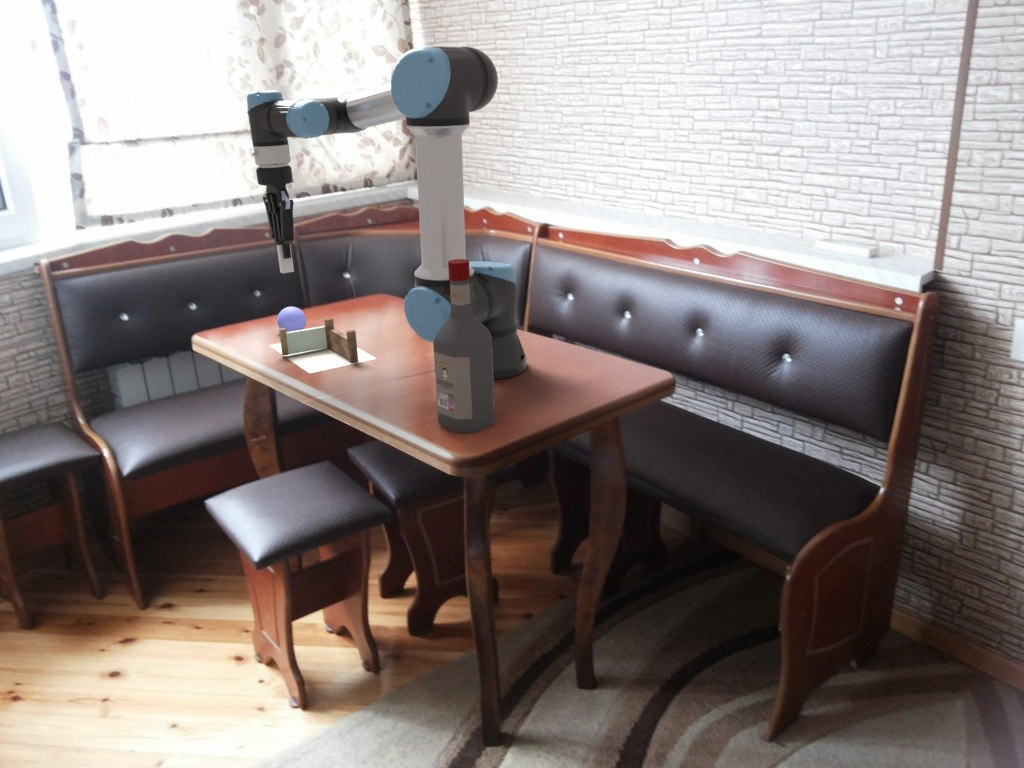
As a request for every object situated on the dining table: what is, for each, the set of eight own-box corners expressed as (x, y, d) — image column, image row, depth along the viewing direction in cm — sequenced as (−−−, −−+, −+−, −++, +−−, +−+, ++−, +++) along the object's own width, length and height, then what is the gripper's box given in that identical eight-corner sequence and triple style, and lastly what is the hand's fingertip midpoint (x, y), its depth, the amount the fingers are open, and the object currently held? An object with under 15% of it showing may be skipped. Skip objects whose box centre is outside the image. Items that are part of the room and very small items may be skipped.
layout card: (377, 360, 195) (377, 358, 195) (309, 375, 187) (309, 373, 187) (331, 334, 216) (331, 332, 216) (268, 346, 208) (268, 344, 207)
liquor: (465, 437, 153) (456, 269, 143) (431, 424, 159) (420, 262, 149) (502, 422, 159) (496, 260, 149) (468, 410, 165) (460, 253, 155)
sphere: (311, 330, 220) (308, 303, 218) (302, 338, 214) (299, 310, 211) (284, 330, 221) (281, 303, 218) (274, 338, 214) (271, 310, 212)
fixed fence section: (359, 361, 194) (356, 331, 191) (351, 363, 192) (348, 333, 190) (334, 346, 205) (331, 317, 203) (326, 348, 204) (322, 319, 201)
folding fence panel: (325, 346, 204) (322, 321, 202) (327, 348, 202) (324, 323, 200) (281, 354, 199) (278, 328, 197) (283, 355, 198) (280, 330, 196)
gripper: (246, 165, 193) (261, 270, 201) (266, 168, 183) (281, 279, 191) (279, 162, 197) (292, 265, 205) (300, 165, 187) (313, 273, 194)
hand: (287, 271), depth 198 cm, fingers closed
